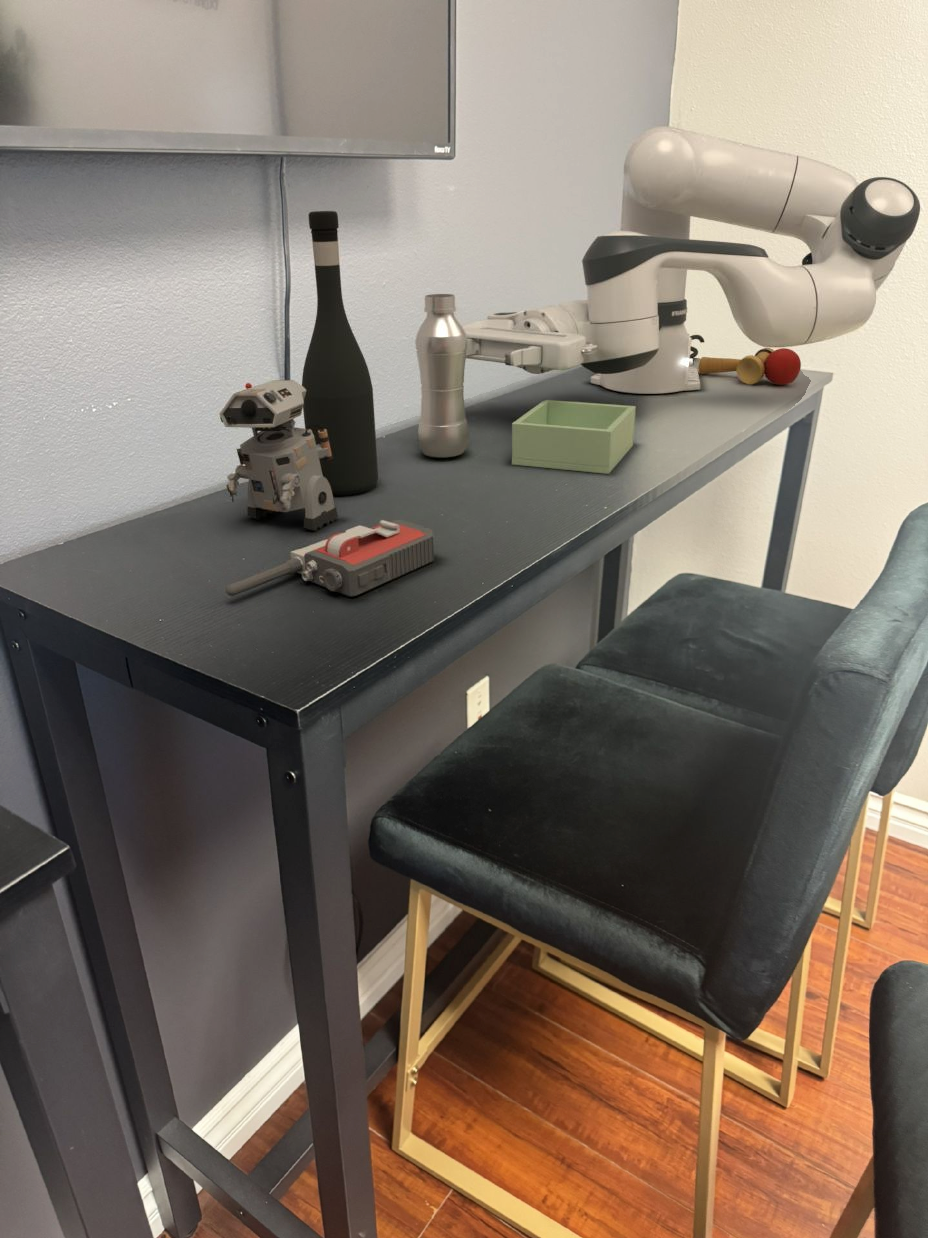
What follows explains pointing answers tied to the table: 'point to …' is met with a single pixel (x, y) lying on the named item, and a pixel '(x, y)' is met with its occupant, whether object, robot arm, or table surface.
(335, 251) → the wine bottle
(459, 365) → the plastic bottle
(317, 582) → the walkie-talkie
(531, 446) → the bin
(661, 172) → the robot arm
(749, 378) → the kendama
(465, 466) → the table surface
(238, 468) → the figurine
